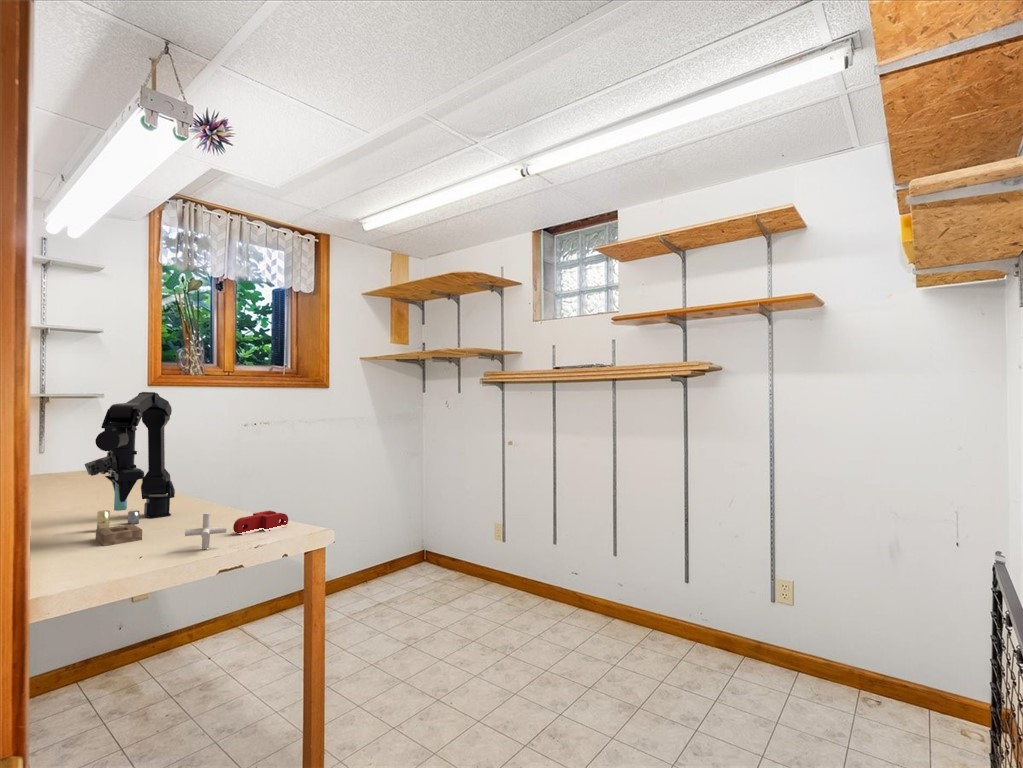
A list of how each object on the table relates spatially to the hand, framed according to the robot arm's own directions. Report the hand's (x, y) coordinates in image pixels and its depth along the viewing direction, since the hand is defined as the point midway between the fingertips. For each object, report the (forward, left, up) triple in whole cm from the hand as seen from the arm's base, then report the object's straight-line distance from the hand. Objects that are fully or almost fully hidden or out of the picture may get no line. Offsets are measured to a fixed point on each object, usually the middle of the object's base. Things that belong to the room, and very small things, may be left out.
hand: (120, 500), depth 156 cm
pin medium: (+1, -14, -11) cm, 18 cm away
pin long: (0, 0, -3) cm, 2 cm away
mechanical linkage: (-33, +17, -12) cm, 39 cm away
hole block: (0, 0, -11) cm, 11 cm away
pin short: (-8, -18, -11) cm, 23 cm away
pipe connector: (-13, +27, -12) cm, 32 cm away
